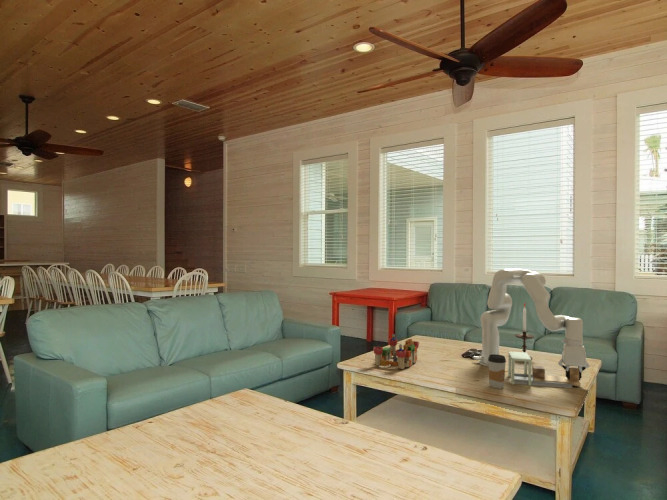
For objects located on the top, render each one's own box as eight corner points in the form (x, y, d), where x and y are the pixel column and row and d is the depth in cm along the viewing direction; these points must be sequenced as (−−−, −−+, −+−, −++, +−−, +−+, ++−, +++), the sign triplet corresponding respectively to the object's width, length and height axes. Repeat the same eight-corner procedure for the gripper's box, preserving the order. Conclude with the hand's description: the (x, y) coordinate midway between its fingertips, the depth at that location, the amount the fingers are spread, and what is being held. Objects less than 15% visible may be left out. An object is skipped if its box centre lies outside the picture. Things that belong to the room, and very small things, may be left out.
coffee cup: (496, 390, 206) (496, 359, 206) (484, 384, 214) (484, 355, 214) (509, 387, 210) (509, 357, 210) (496, 382, 217) (497, 353, 217)
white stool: (511, 384, 215) (511, 358, 215) (508, 375, 229) (508, 351, 229) (531, 386, 213) (531, 359, 213) (526, 377, 227) (526, 352, 227)
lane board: (514, 383, 216) (514, 379, 216) (511, 376, 228) (511, 372, 228) (572, 388, 209) (572, 384, 209) (566, 381, 220) (566, 377, 220)
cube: (533, 378, 217) (533, 368, 217) (532, 375, 222) (532, 365, 222) (544, 379, 215) (544, 369, 215) (542, 376, 220) (542, 366, 220)
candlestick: (534, 361, 259) (535, 303, 258) (515, 359, 262) (515, 302, 262) (532, 357, 269) (533, 301, 269) (514, 355, 272) (514, 300, 272)
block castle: (390, 354, 276) (390, 332, 276) (421, 358, 266) (421, 335, 266) (371, 365, 249) (371, 341, 249) (404, 370, 240) (405, 345, 239)
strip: (535, 382, 214) (535, 367, 214) (532, 376, 224) (532, 362, 224) (580, 386, 209) (580, 371, 209) (575, 380, 218) (575, 365, 218)
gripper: (556, 343, 213) (556, 379, 213) (595, 345, 208) (594, 383, 208) (553, 339, 220) (553, 375, 220) (590, 342, 215) (590, 378, 215)
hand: (573, 378), depth 214 cm, fingers closed on strip, 4 cm apart
